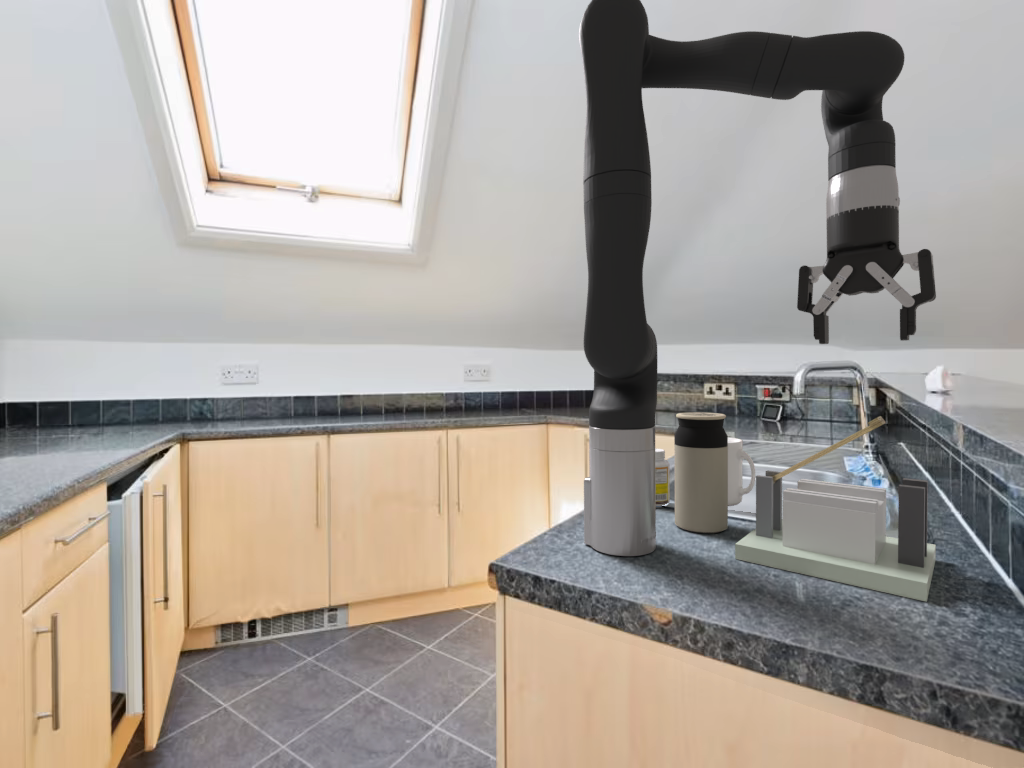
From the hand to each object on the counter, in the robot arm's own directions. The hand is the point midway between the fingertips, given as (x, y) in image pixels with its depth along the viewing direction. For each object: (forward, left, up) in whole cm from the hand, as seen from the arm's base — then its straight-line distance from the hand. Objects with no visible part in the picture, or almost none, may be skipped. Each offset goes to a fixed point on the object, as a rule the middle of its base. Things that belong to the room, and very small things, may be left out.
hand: (862, 342), depth 66 cm
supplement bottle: (-34, +11, -29) cm, 46 cm away
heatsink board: (-3, 0, -28) cm, 29 cm away
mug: (-25, +21, -29) cm, 44 cm away
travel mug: (-22, +3, -29) cm, 36 cm away
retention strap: (-4, 0, -15) cm, 16 cm away
